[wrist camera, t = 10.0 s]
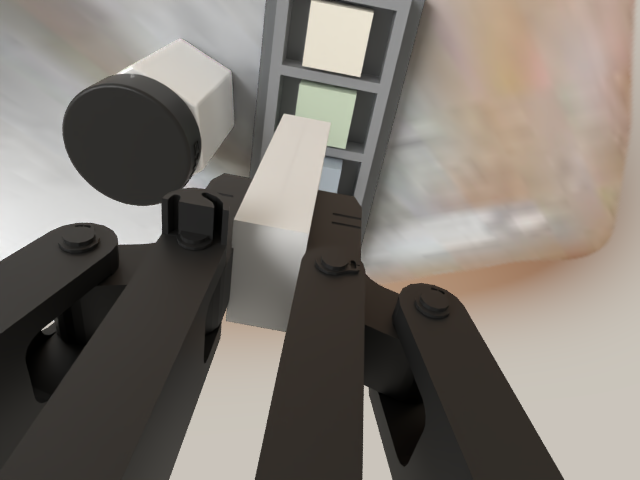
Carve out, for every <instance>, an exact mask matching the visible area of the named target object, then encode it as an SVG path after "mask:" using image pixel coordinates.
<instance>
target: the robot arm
mask: <svg viewBox="0 0 640 480" xmlns="http://www.w3.org/2000/svg"><path fill="white" fill-rule="evenodd" d="M330 125H331V123H330V122H325V121H320V120H315V119H310V118H304V117H299V116H294V115H289V114H283V116H282V118H281V121H280V123H279V125H278V127H277V129H276V131H275V133H274V135H273V138H272V140H271V142H270V144H269V146H268V148H267V150H266V152H265V154H264V157H263V159H262V161H261V163H260V165H259V167H258V169H257V171H256V174H255V176H254V178H253V179H251V178H246V177H241V176H235V175H230V174H225V173H224V174H222V175H220V176H218V177H217V178H215V179H213V180H211V181H210V183H209V185H208V186H207V188H206V189H199V188H185V189H178V190H175V191H172V192H169V193H167V194H166V195H165V196H164V197H162V198H161V201H162V235H161V236H160V238H159V239H158V241H157V242H156V243H151V244H137V245H118V238H117V236H116V234H115V233H114V231H113V230H111V229H109V228H107V227H105V226H103V225H98V224H94V223H75V224H70V225H65V226H61V227H59V228H57V229H54V230H52V231H50V232H48V233H47V234H45V235H43V236H42V237H40V238H38V239H37V240H35V241H33V242H32V243H30V244H28V245H27V246H25V247H23V248H22V249H20V250H18V251H17V252H15V253H13V254H12V255H10V256H8V257H7V258H5V259H3V260H2V261H0V480H169V478H170V475H171V473H172V470H173V467H174V464H175V461H176V459H177V456H178V453H179V451H180V448H181V445H182V442H183V440H184V437H185V434H186V431H187V429H188V425H189V423H190V420H191V417H192V415H193V412H194V409H195V406H196V404H197V401H198V398H199V395H200V393H201V390H202V387H203V384H204V382H205V379H206V376H207V373H208V371H209V368H210V365H211V362H212V360H213V357H214V354H215V351H216V348H217V346H218V343H219V340H220V336H221V323H222V322H221V321H222V319H223V316H224V313H225V311H226V308H227V315H226V321H229V322H234V323H240V324H245V325H251V326H257V327H261V328H267V329H272V330H278V331H283V332H286V335H285V340H284V344H283V349H282V354H281V358H280V363H279V368H278V373H277V377H276V382H275V387H274V391H273V396H272V401H271V406H270V410H269V415H268V420H267V425H266V430H265V434H264V439H263V443H262V449H261V453H260V458H259V462H258V467H257V472H256V477H255V480H362V468H363V466H362V464H363V396H364V385H365V386H368V387H369V396H370V400H371V403H372V407H373V411H374V414H375V418H376V421H377V425H378V428H379V432H380V436H381V439H382V443H383V446H384V450H385V454H386V457H387V461H388V464H389V468H390V472H391V475H392V479H393V480H564V478H563V477H562V475H561V473H560V471H559V470H558V468H557V466H556V465H555V463H554V461H553V459H552V458H551V456H550V454H549V453H548V451H547V449H546V447H545V446H544V444H543V442H542V440H541V439H540V437H539V435H538V433H537V432H536V430H535V428H534V426H533V425H532V423H531V421H530V419H529V418H528V416H527V414H526V413H525V411H524V409H523V407H522V406H521V404H520V402H519V400H518V399H517V397H516V395H515V394H514V392H513V390H512V388H511V387H510V385H509V383H508V381H507V380H506V378H505V376H504V374H503V373H502V371H501V370H500V368H499V366H498V364H497V362H496V361H495V359H494V357H493V355H492V354H491V352H490V350H489V348H488V347H487V345H486V343H485V342H484V340H483V338H482V336H481V335H480V333H479V332H478V330H477V328H476V326H475V324H474V322H473V321H472V319H471V318H470V316H469V314H468V312H467V310H466V309H465V307H464V305H463V304H462V303H461V302H460V301H459V299H458V298H457V297H455V296H454V295H453V294H451V293H450V292H448V291H447V290H445V289H442V288H440V287H437V286H435V285H429V284H424V283H419V284H410V285H408V286H407V287H405V288H403V289H402V291H401V293H400V294H398V293H396V292H393V291H391V290H389V289H386V288H384V287H382V286H380V285H378V284H377V283H375V282H374V281H373V280H371V279H370V278H369V277H368V276H367V275H366V274H365V268H364V265H363V263H362V262H361V223H362V220H361V219H362V207H361V205H360V204H359V203H358V201H357V200H356V198H355V197H354V196H348V195H343V194H338V193H333V192H327V191H322V190H319V185H320V179H321V174H322V169H323V163H324V158H325V152H326V147H327V142H328V136H329V131H330ZM53 320H54V321H55V322H54V323H53V324H52V325H51V326H49V327H48V328H46V329H44V330H42V329H43V328H44V327H45V326H46V325H48V324H49V323H50V322H52V321H53ZM41 330H42V331H41Z"/></svg>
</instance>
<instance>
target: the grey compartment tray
mask: <svg viewBox="0 0 640 480" xmlns="http://www.w3.org/2000/svg"><path fill="white" fill-rule="evenodd" d="M330 1H335V2H340V3H345V4H350V5H355V6H360V7H366V8H371V9H373V10H374V14H373V19H372V24H371V28H370V33H369V38H368V43H367V47H366V52H365V57H364V62H363V67H362V71H361V76H360V77H357V76H352V75H346V74H341V73H336V72H331V71H326V70H321V69H316V68H310V67H305V66H302V63H303V55H304V48H305V41H306V34H307V27H308V20H309V13H310V6H311V0H266V6H265V16H264V27H263V38H262V49H261V59H260V70H259V81H258V92H257V103H256V113H255V124H254V135H253V146H252V156H251V167H250V178H251V179H253V178H254V176H255V174H256V171H257V169H258V167H259V165H260V163H261V161H262V159H263V157H264V154H265V152H266V150H267V148H268V146H269V144H270V142H271V140H272V138H273V135H274V133H275V131H276V129H277V127H278V125H279V123H280V121H281V118H282V116H283V114H289V115H294V116H295V112H296V105H297V98H298V91H299V84H300V82H301V80H302V79H305V80H311V81H316V82H321V83H326V84H331V85H336V86H341V87H347V88H352V89H357V95H356V100H355V105H354V110H353V115H352V119H351V124H350V129H349V134H348V139H347V143H346V148H345V149H343V148H337V147H332V146H327V147H326V152H325V156H326V157H331V158H336V159H342V160H343V161H342V170H341V175H340V179H339V184H338V189H337V193H338V194H343V195H348V196H354V197H355V198H356V200H357V201H358V203H359V204H360V205H361V207H362V219H361V220H362V223H361V245H362V241H363V237H364V233H365V229H366V226H367V222H368V218H369V214H370V210H371V206H372V202H373V199H374V195H375V191H376V187H377V183H378V179H379V175H380V172H381V168H382V164H383V160H384V156H385V152H386V149H387V145H388V141H389V137H390V133H391V129H392V125H393V122H394V118H395V114H396V110H397V106H398V102H399V98H400V95H401V91H402V87H403V83H404V79H405V75H406V72H407V68H408V64H409V60H410V56H411V52H412V48H413V45H414V41H415V37H416V33H417V29H418V25H419V21H420V18H421V14H422V10H423V6H424V2H425V0H330Z"/></svg>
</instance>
